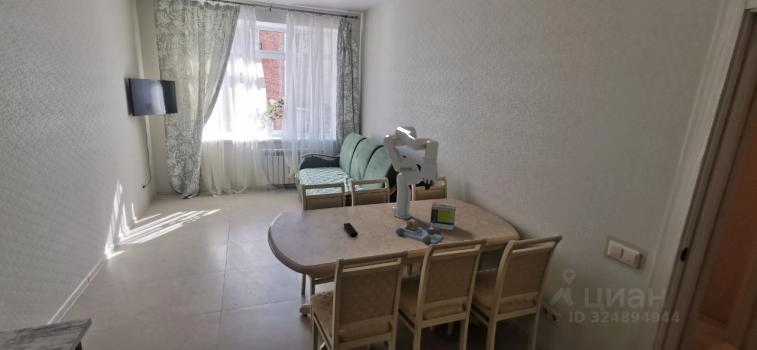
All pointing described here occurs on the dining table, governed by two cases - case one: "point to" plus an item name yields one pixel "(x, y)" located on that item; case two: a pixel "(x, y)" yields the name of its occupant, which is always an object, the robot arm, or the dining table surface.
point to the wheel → (431, 230)
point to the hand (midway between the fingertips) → (427, 189)
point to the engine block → (412, 225)
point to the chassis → (420, 234)
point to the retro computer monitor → (442, 216)
